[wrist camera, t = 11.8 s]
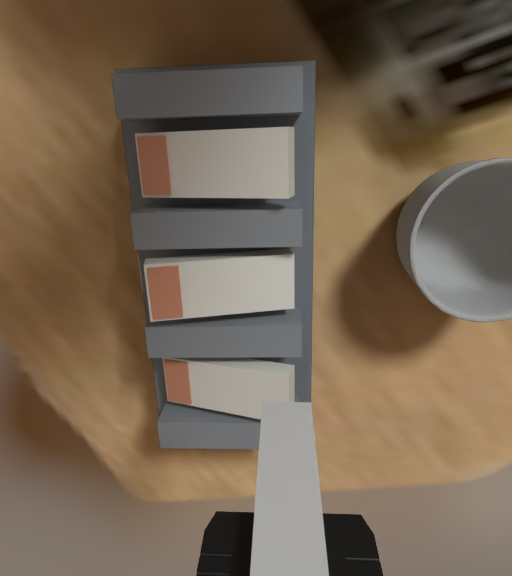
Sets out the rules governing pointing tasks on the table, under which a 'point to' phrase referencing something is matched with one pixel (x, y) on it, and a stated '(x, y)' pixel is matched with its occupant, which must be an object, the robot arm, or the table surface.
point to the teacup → (462, 239)
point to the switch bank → (223, 227)
